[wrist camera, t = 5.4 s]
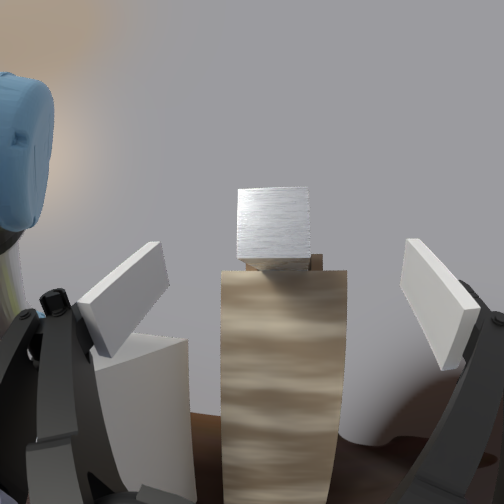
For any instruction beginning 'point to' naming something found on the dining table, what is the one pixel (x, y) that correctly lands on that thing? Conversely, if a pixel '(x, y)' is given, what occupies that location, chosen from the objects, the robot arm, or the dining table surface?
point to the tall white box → (148, 412)
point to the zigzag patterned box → (281, 382)
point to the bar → (274, 228)
